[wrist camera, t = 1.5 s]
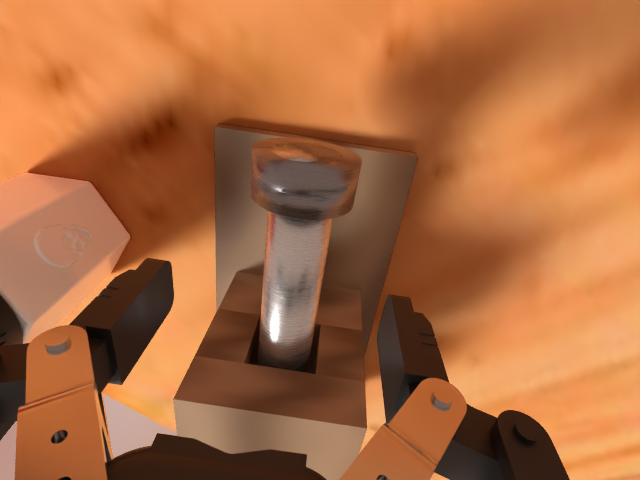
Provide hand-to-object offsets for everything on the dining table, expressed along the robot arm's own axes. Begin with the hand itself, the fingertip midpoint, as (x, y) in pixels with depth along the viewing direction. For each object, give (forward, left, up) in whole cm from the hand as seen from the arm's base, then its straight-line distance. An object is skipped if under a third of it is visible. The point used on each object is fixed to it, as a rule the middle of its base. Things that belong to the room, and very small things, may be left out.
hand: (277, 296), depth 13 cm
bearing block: (0, +10, -11) cm, 15 cm away
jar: (+17, +6, -12) cm, 21 cm away
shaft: (0, +8, -7) cm, 10 cm away
